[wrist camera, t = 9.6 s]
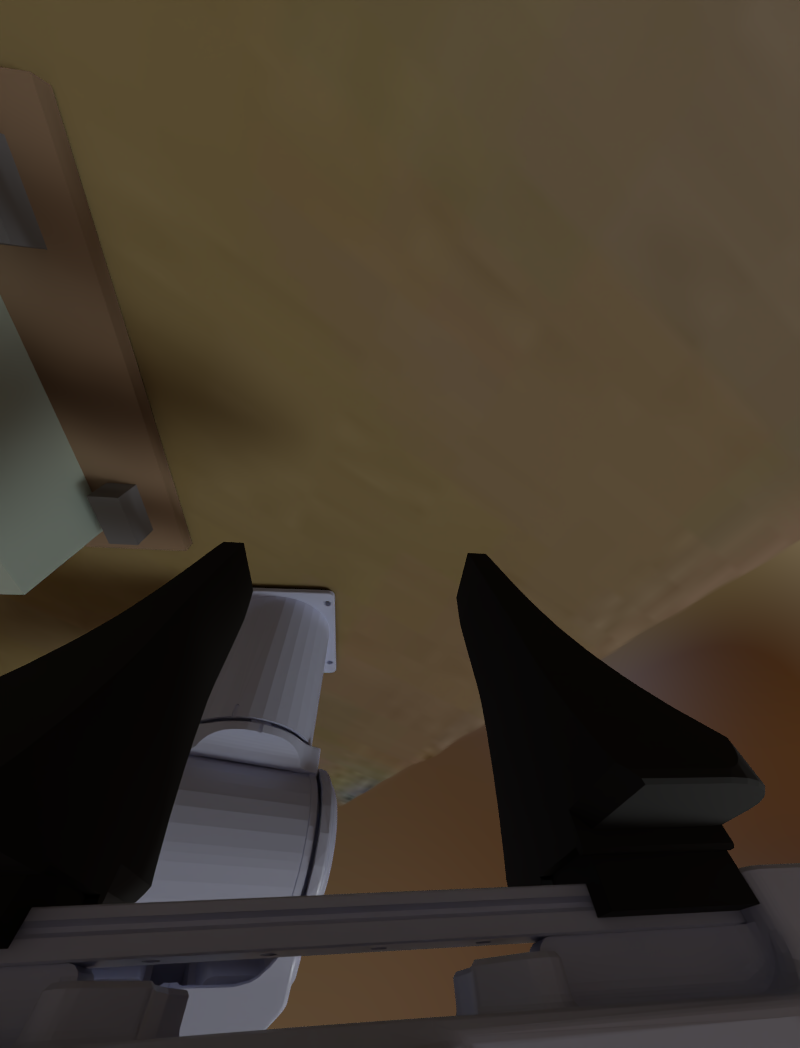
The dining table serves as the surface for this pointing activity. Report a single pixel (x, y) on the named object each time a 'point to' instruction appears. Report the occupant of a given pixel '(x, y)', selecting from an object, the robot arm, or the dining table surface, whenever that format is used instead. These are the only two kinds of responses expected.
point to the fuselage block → (35, 476)
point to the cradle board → (78, 324)
